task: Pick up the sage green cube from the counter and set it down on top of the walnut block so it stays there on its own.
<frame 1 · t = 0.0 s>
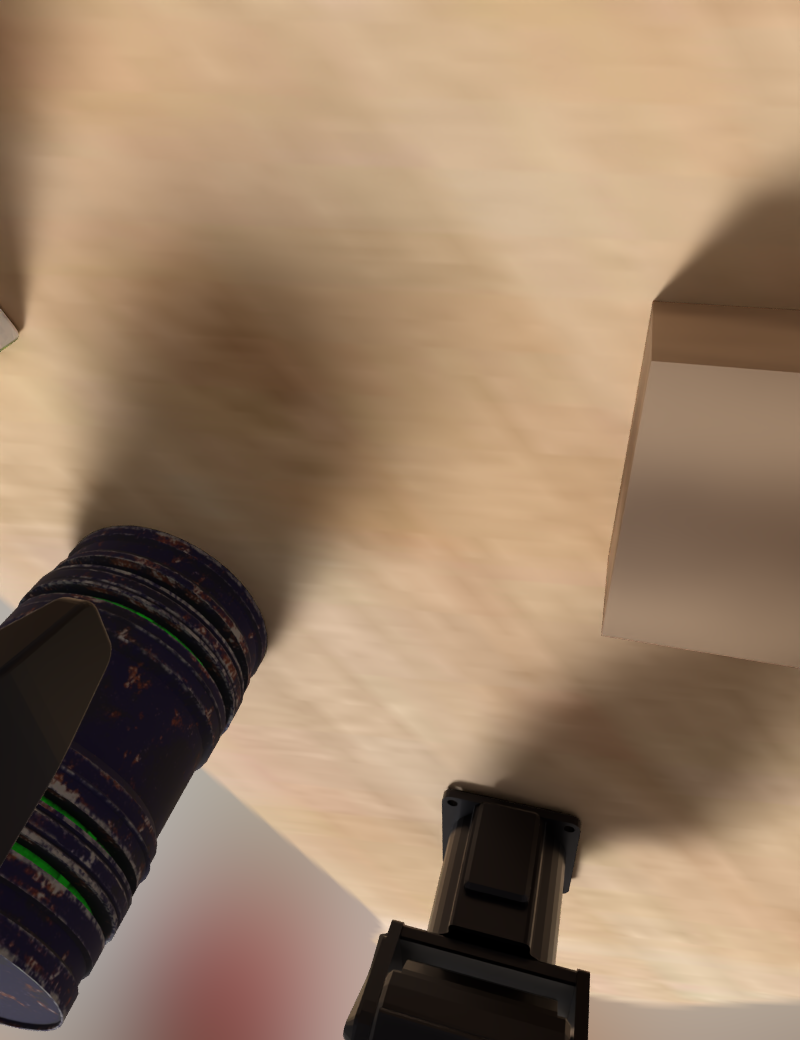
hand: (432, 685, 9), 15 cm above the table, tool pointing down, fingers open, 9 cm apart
storage jar: (169, 607, 34), on the table
block: (787, 456, 22), on the table
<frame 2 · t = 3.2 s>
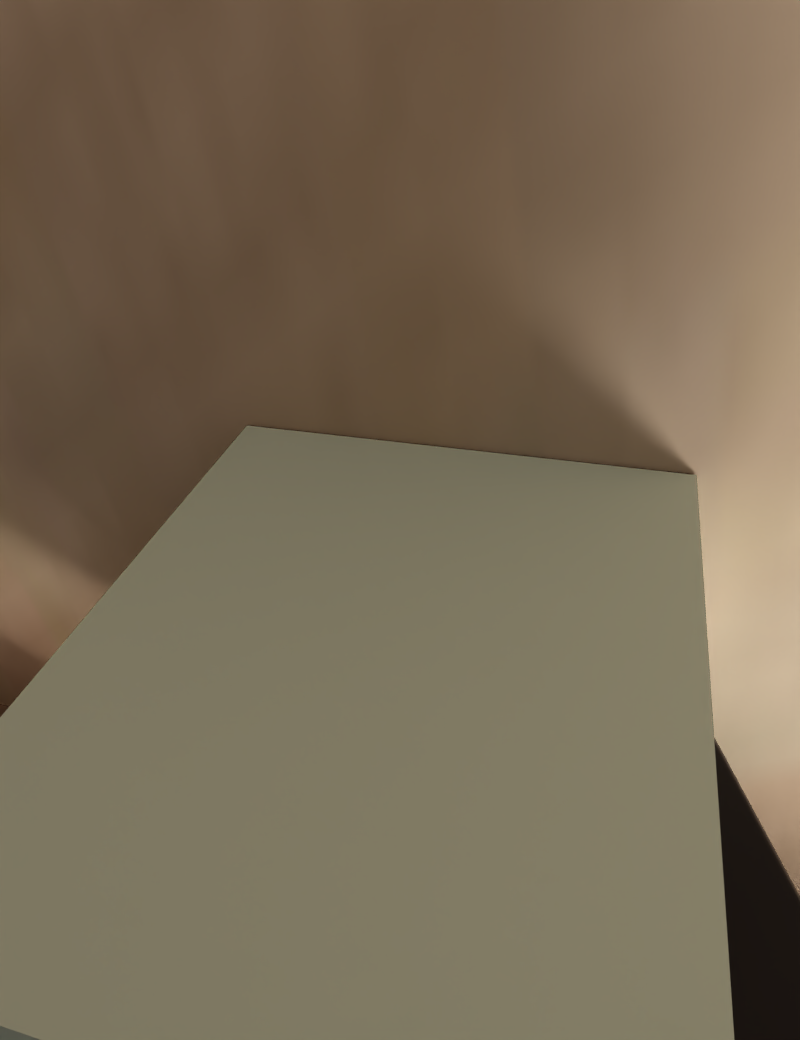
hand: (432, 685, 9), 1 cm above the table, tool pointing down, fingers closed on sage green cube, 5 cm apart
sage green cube: (454, 612, 10), on the table, touching gripper
when the fingers open (6 cm above the table, at t = 7.0 s): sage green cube stays where it is, point 4 cm above the table.
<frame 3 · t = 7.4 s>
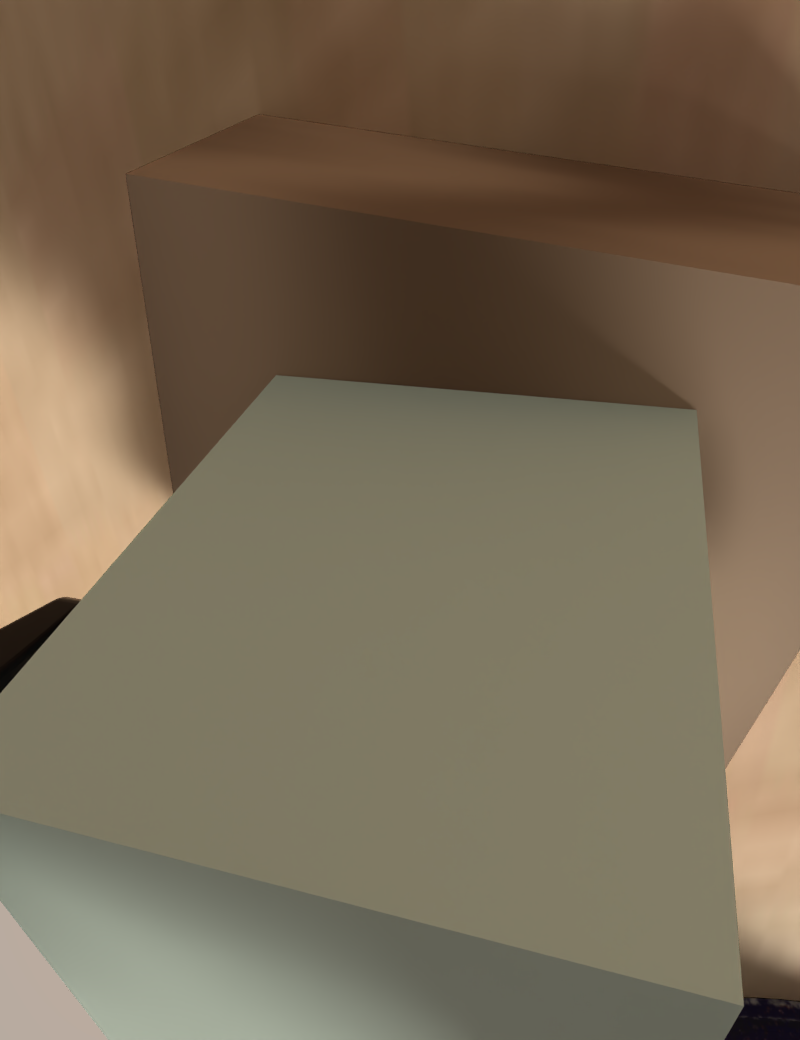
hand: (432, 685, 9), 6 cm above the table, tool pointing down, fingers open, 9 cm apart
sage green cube: (470, 553, 10), point 4 cm above the table
block: (510, 422, 13), on the table
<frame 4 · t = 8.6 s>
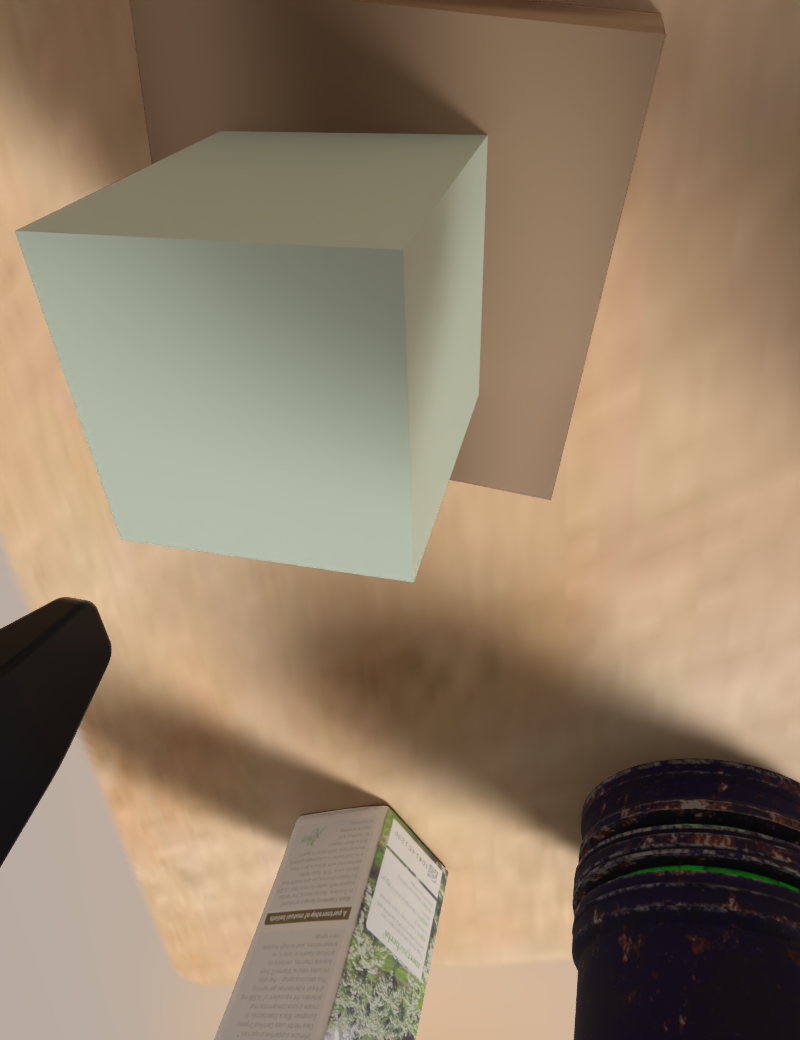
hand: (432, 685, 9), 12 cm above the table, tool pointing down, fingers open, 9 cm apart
storage jar: (707, 831, 29), on the table
syrup box: (375, 837, 36), on the table
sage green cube: (358, 271, 15), point 4 cm above the table, touching block
block: (416, 217, 18), on the table, touching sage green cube
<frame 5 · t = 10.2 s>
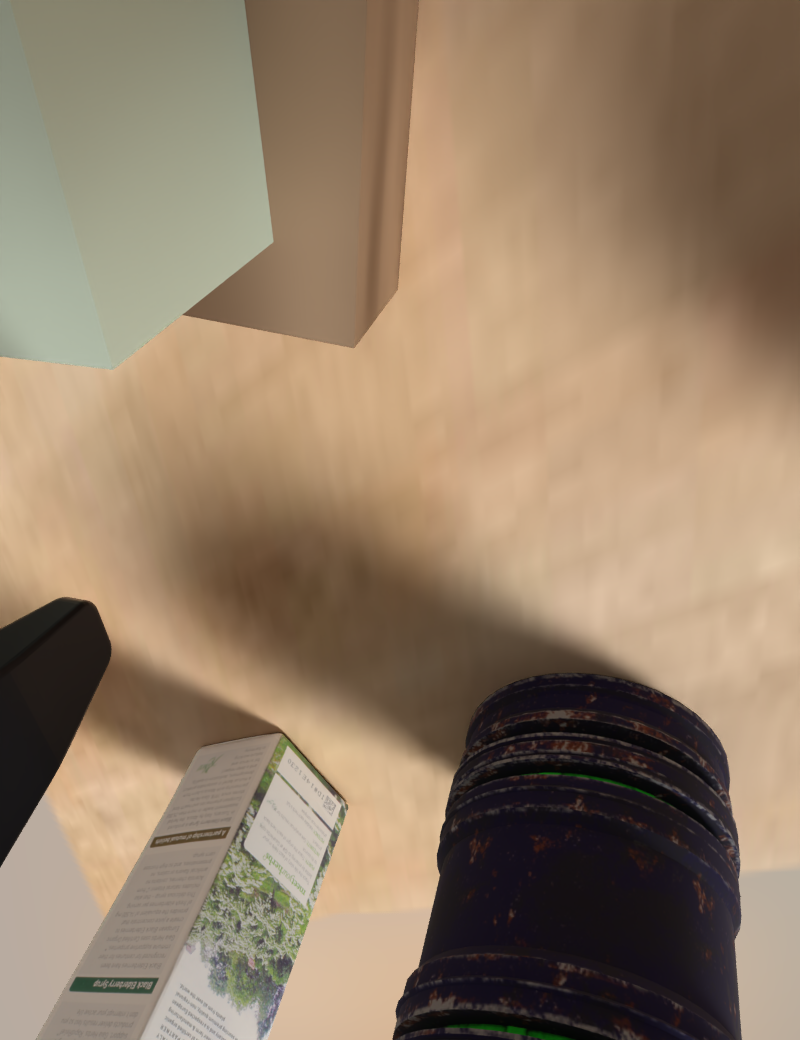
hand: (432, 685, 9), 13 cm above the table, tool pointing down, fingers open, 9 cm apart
storage jar: (592, 755, 29), on the table
syrup box: (277, 770, 36), on the table
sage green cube: (138, 102, 15), point 4 cm above the table, touching block
block: (230, 64, 17), on the table, touching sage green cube
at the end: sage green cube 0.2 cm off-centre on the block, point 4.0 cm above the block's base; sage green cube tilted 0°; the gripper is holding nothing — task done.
